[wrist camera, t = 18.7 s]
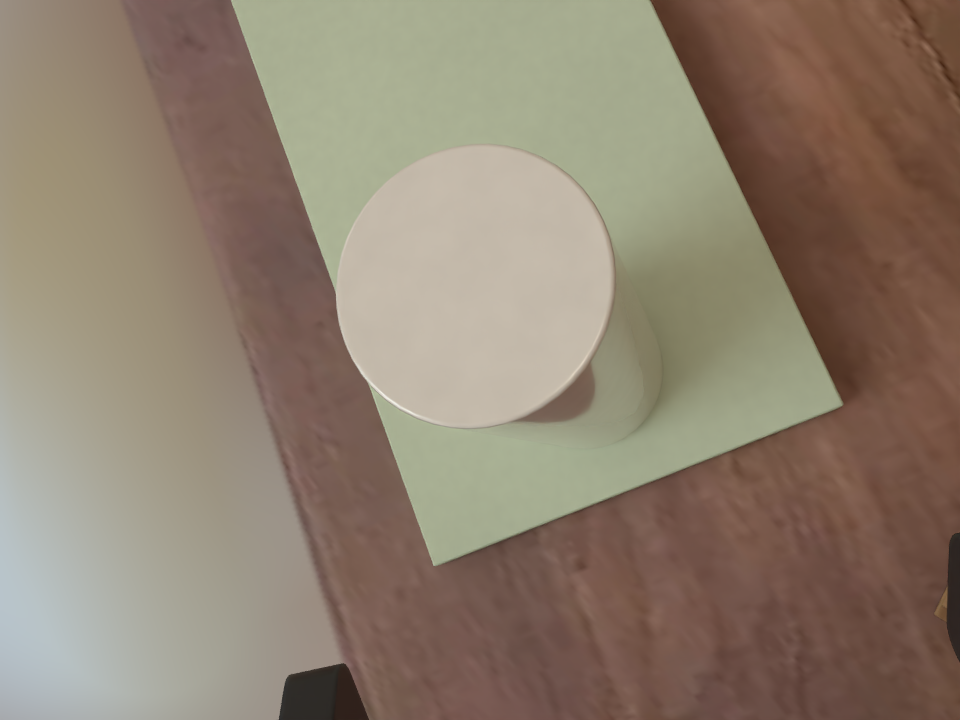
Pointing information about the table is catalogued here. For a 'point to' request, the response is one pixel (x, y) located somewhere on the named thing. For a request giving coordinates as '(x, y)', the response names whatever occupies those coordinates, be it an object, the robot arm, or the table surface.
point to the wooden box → (942, 607)
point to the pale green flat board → (606, 179)
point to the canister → (497, 302)
